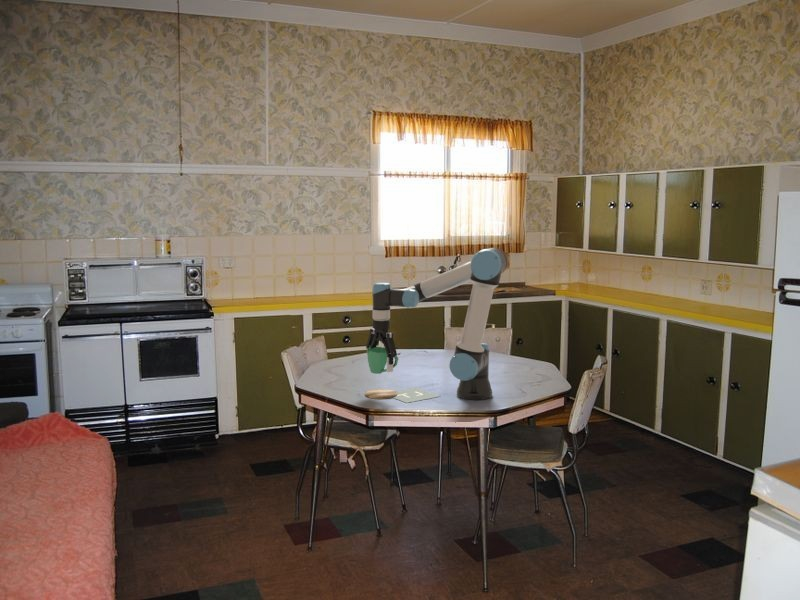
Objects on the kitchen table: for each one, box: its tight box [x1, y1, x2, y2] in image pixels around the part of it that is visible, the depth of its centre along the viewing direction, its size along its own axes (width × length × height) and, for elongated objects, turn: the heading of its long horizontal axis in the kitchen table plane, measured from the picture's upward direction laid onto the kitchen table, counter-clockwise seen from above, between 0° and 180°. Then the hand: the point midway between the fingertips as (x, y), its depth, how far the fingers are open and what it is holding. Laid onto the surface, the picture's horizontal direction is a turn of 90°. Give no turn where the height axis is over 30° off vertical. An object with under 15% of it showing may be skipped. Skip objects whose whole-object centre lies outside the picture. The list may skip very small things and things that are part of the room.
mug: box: [366, 346, 399, 375], centre depth 314 cm, size 15×10×10 cm
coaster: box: [364, 388, 398, 400], centre depth 316 cm, size 14×14×1 cm
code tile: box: [392, 387, 441, 404], centre depth 315 cm, size 18×18×1 cm
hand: (381, 368), depth 314 cm, fingers closed on mug, 12 cm apart
